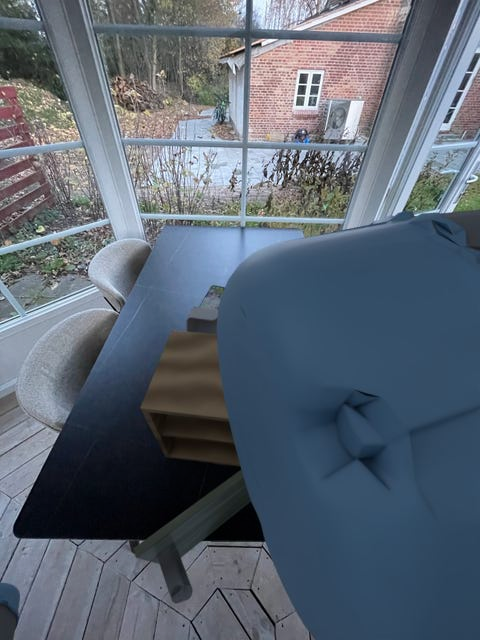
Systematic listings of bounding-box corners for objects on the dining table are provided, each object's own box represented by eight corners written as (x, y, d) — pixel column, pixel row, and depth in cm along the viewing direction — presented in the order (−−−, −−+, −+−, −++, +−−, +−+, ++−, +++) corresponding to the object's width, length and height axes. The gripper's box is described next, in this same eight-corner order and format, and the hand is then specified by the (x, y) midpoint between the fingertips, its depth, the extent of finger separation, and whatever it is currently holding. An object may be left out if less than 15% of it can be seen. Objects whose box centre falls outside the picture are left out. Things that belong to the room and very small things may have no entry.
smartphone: (229, 288, 106) (217, 312, 95) (229, 290, 106) (217, 314, 96) (211, 284, 107) (197, 308, 96) (211, 287, 108) (198, 310, 97)
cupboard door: (298, 504, 56) (328, 469, 39) (183, 606, 45) (154, 620, 28) (277, 473, 60) (296, 429, 43) (167, 560, 49) (133, 548, 32)
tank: (270, 329, 91) (274, 302, 83) (265, 367, 80) (270, 340, 71) (200, 319, 94) (197, 292, 85) (186, 354, 83) (181, 327, 74)
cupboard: (279, 472, 60) (298, 427, 43) (165, 457, 62) (140, 408, 44) (279, 399, 73) (294, 342, 55) (185, 389, 74) (171, 330, 57)
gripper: (788, 533, 13) (484, 562, 28) (325, 299, 24) (287, 409, 39) (898, 753, 9) (471, 647, 24) (276, 345, 20) (254, 449, 35)
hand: (356, 499), depth 31 cm, fingers open, 13 cm apart
